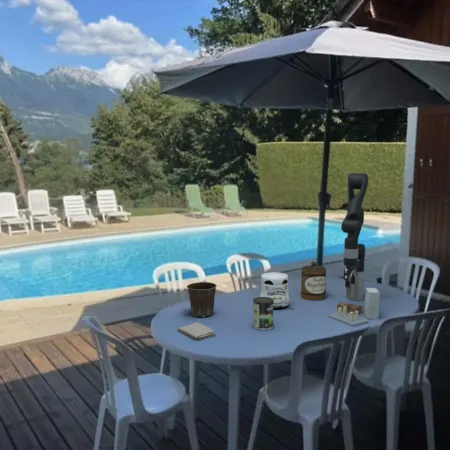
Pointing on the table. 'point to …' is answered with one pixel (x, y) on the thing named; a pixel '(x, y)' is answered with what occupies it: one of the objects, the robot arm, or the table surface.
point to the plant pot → (202, 298)
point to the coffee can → (263, 313)
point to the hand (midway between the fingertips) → (350, 285)
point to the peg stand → (348, 317)
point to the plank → (350, 307)
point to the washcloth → (197, 331)
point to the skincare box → (372, 303)
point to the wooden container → (313, 282)
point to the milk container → (275, 288)
